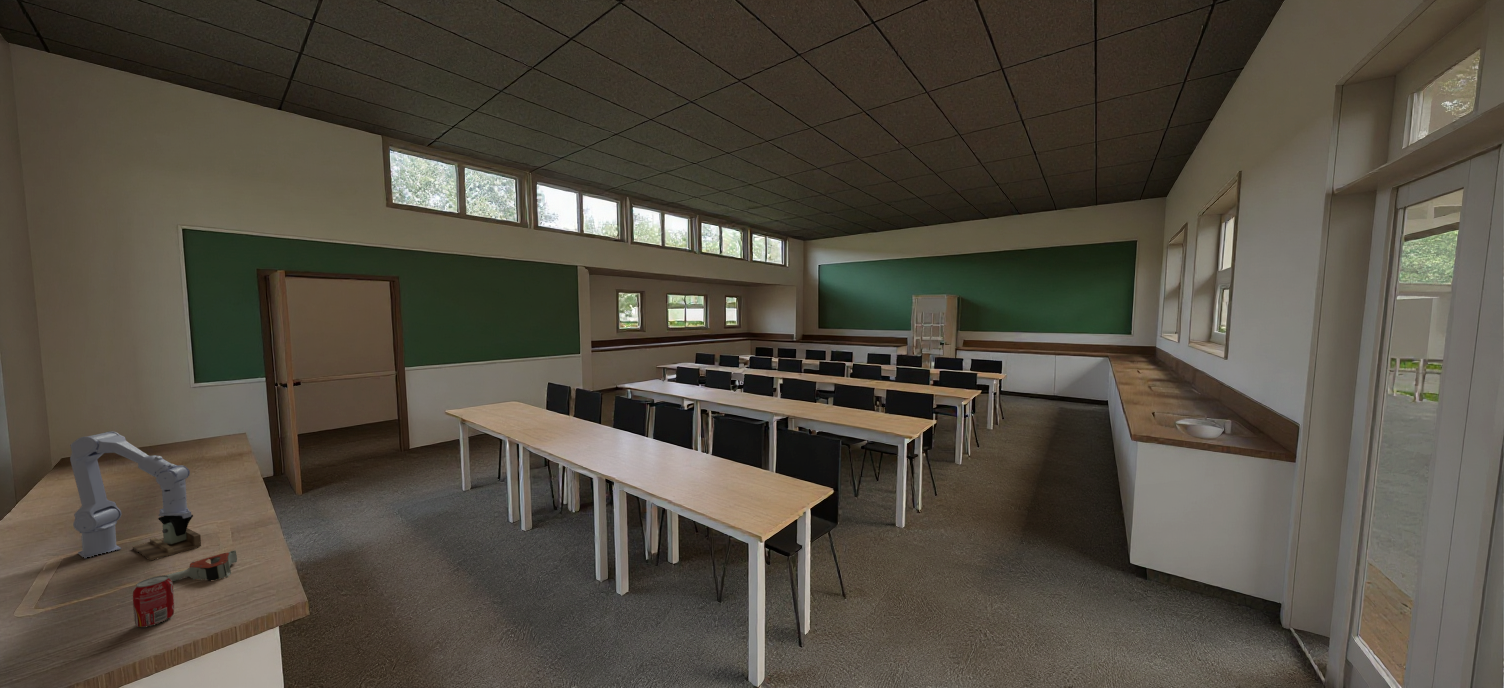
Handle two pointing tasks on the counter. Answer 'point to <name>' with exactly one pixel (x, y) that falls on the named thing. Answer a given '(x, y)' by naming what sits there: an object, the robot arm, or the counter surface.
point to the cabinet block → (171, 534)
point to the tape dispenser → (208, 568)
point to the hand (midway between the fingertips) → (176, 534)
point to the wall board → (168, 546)
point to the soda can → (153, 601)
